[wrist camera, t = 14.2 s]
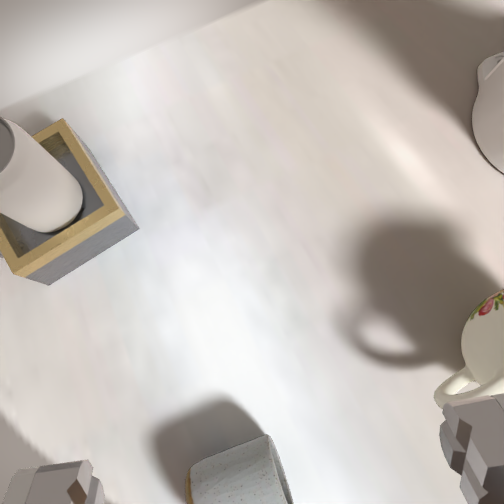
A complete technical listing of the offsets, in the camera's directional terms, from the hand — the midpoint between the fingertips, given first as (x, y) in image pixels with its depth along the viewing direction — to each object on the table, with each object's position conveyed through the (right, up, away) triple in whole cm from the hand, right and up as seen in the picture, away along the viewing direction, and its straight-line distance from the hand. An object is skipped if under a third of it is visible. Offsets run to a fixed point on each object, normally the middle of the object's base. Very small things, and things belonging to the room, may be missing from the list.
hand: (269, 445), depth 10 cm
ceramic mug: (-1, -18, +32) cm, 37 cm away
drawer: (-20, +8, +39) cm, 44 cm away
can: (-20, +9, +34) cm, 40 cm away
